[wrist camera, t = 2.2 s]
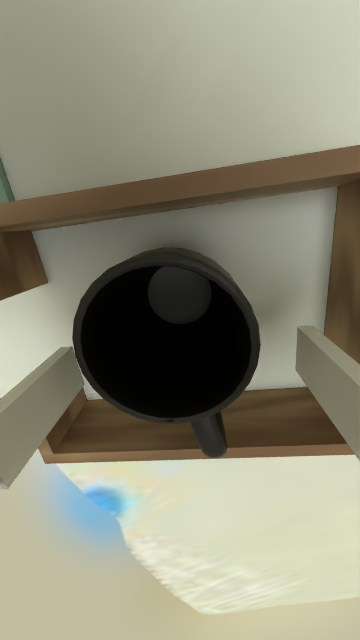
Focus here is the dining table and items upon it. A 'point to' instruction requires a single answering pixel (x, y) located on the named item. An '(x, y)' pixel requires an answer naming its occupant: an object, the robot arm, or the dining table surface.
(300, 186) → the wooden tray frame
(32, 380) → the robot arm
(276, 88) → the dining table surface
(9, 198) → the mat
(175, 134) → the dining table surface
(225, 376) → the mug
